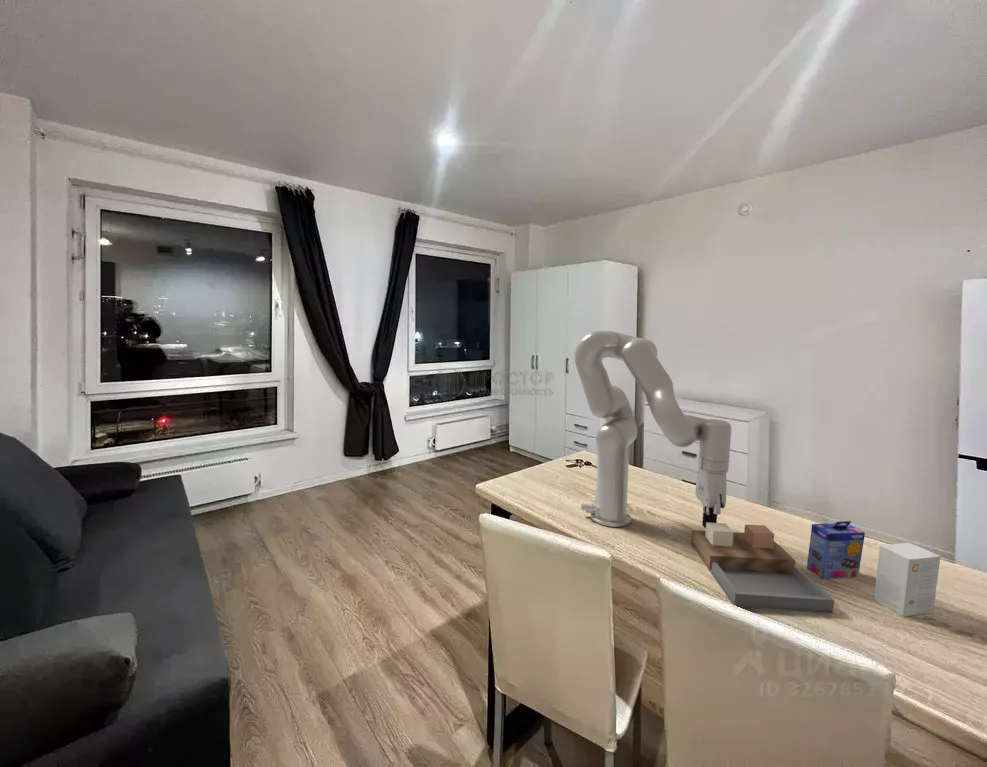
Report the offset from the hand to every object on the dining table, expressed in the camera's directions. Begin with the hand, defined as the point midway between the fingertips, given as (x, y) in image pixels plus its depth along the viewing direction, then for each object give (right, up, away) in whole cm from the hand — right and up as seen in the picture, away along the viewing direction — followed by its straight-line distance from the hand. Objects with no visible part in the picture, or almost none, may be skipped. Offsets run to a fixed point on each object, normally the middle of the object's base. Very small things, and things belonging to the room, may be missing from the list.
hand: (709, 527), depth 123 cm
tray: (+2, -8, -22) cm, 23 cm away
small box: (+29, -9, -27) cm, 41 cm away
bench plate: (+4, -6, -8) cm, 10 cm away
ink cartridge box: (+23, -7, -15) cm, 29 cm away
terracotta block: (+9, -2, -8) cm, 12 cm away
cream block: (-1, -2, -7) cm, 7 cm away
